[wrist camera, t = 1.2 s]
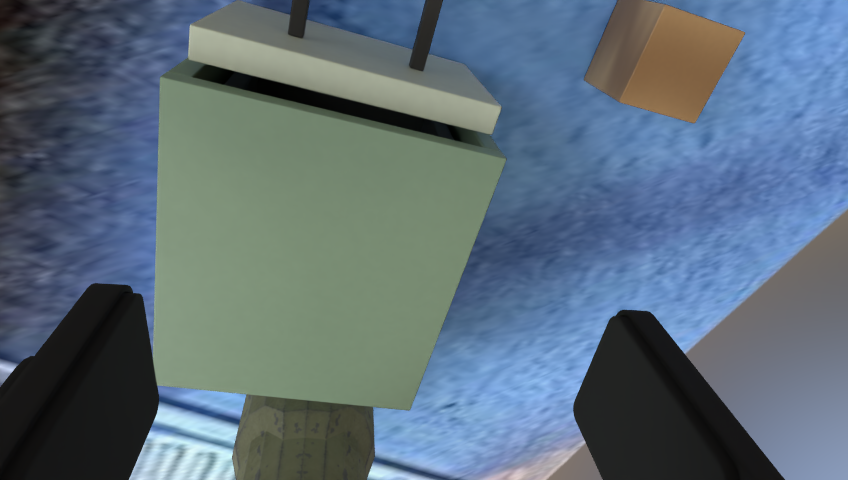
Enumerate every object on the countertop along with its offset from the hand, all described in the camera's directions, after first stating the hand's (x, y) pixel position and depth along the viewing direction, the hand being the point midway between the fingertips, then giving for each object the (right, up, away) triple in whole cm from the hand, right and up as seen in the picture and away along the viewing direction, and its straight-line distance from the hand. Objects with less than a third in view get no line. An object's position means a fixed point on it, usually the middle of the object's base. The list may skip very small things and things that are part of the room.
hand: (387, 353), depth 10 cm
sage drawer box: (-5, +5, +19) cm, 21 cm away
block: (+12, +13, +17) cm, 25 cm away
